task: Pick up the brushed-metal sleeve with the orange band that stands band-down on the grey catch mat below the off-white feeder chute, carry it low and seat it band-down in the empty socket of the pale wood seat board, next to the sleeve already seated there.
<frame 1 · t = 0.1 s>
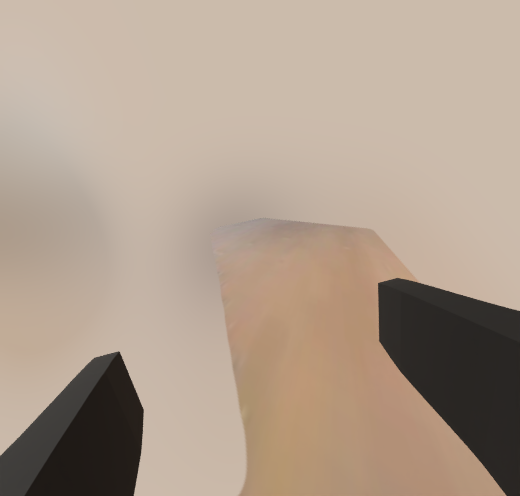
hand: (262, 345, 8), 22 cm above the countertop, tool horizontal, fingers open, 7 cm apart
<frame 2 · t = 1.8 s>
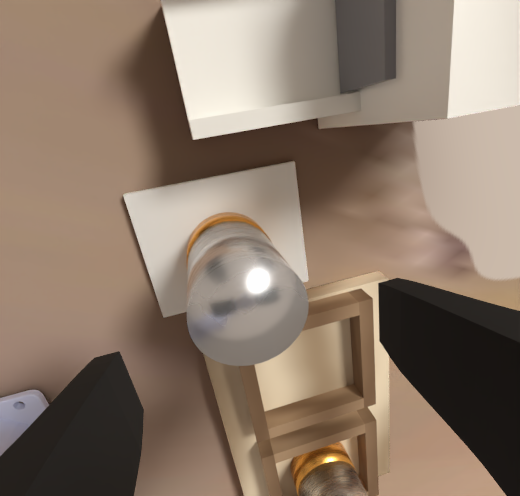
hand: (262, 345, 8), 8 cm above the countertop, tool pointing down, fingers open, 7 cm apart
sleeve A: (228, 251, 15), resting on catch mat
seat board: (306, 402, 21), on the countertop
sleeve B: (318, 461, 21), point 1 cm above the countertop, touching seat board
feeder: (301, 59, 14), on the countertop
catch mat: (225, 240, 16), on the countertop
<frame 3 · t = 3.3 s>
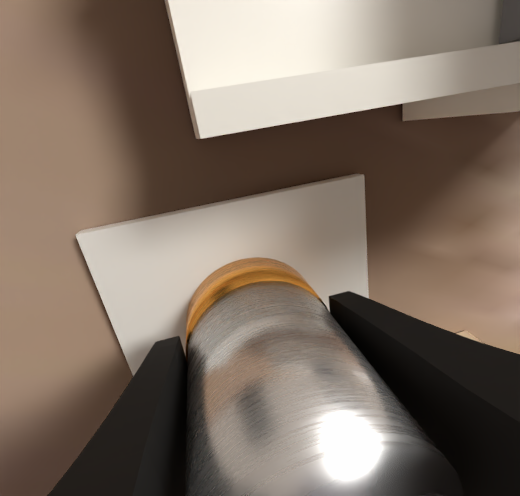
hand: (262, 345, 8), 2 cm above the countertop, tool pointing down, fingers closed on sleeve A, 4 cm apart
sleeve A: (252, 317, 10), resting on catch mat, touching gripper
catch mat: (247, 298, 10), on the countertop
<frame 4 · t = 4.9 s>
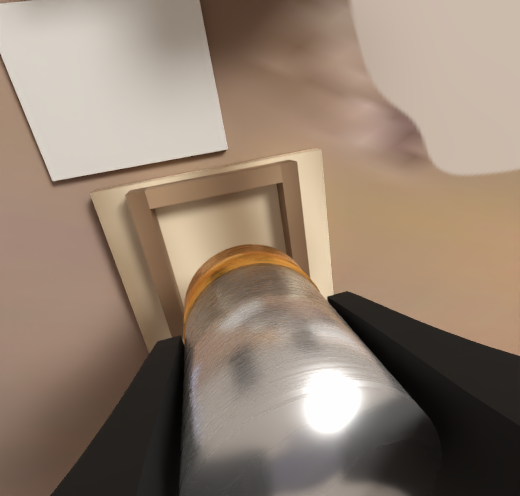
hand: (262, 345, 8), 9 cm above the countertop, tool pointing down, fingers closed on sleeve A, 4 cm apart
sleeve A: (248, 303, 10), point 7 cm above the countertop, touching gripper
seat board: (241, 311, 18), on the countertop
catch mat: (122, 88, 13), on the countertop
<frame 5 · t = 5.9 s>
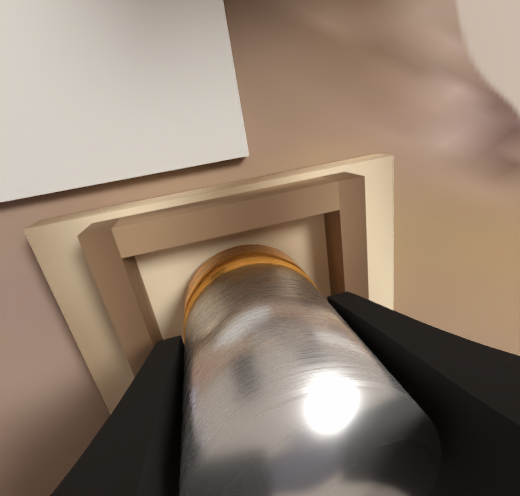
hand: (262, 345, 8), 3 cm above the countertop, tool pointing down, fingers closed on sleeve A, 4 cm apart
sleeve A: (248, 303, 10), point 1 cm above the countertop, touching gripper
seat board: (262, 382, 13), on the countertop
catch mat: (76, 55, 8), on the countertop
when the fingers open (3 cm above the countertop, at t = 6.8 s): sleeve A stays where it is, resting on seat board.
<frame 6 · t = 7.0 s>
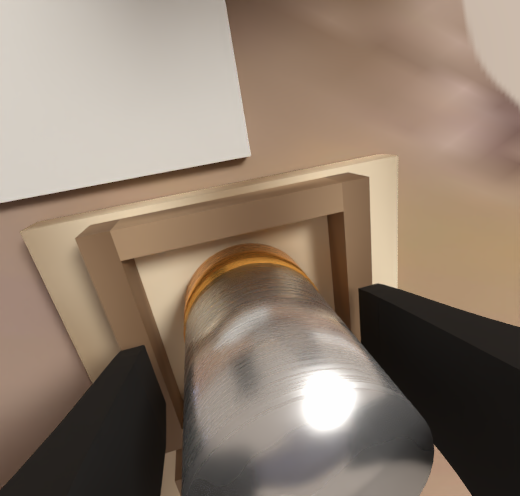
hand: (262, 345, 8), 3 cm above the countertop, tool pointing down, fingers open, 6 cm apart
sleeve A: (247, 301, 10), point 1 cm above the countertop, touching seat board
seat board: (263, 386, 13), on the countertop
catch mat: (74, 52, 8), on the countertop
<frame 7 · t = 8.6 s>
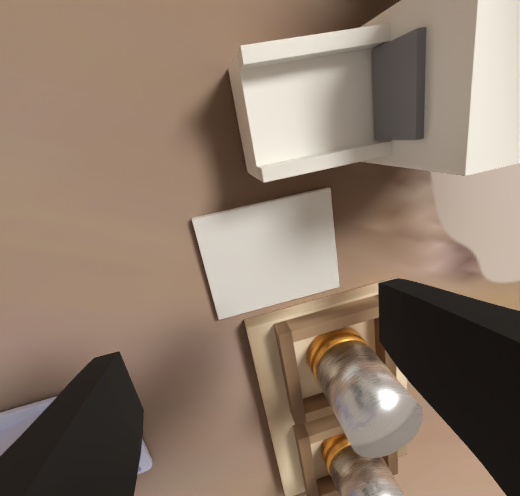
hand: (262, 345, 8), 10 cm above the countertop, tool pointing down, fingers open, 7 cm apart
sleeve A: (334, 351, 21), point 1 cm above the countertop, touching seat board
seat board: (334, 392, 23), on the countertop
sleeve B: (344, 443, 24), point 1 cm above the countertop, touching seat board
feeder: (337, 105, 16), on the countertop
catch mat: (271, 254, 18), on the countertop
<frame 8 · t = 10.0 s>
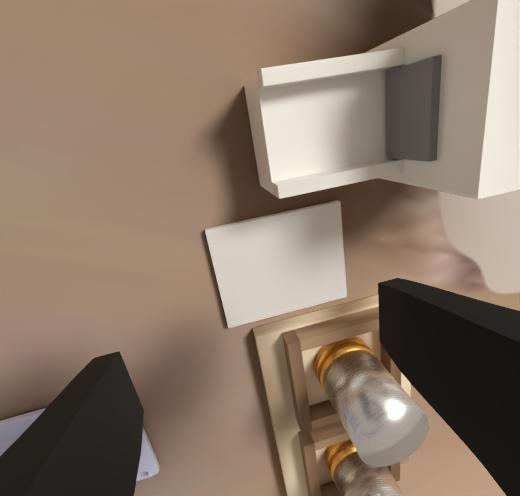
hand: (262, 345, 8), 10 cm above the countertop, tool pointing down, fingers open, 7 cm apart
sleeve A: (340, 360, 21), point 1 cm above the countertop, touching seat board
seat board: (339, 399, 24), on the countertop
sleeve B: (348, 450, 25), point 1 cm above the countertop, touching seat board
feeder: (349, 121, 17), on the countertop
catch mat: (280, 264, 19), on the countertop
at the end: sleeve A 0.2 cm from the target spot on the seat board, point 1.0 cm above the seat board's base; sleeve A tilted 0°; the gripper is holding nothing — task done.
